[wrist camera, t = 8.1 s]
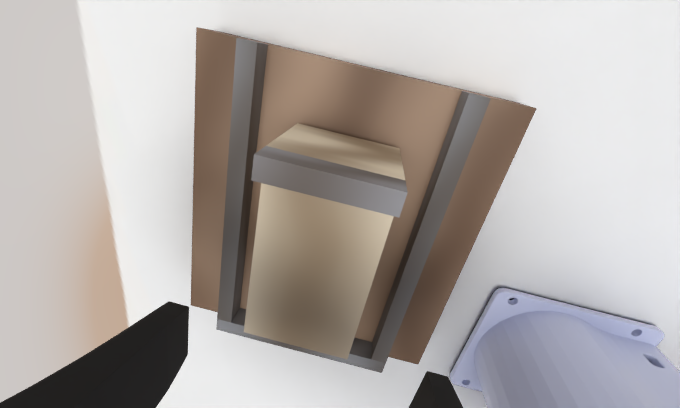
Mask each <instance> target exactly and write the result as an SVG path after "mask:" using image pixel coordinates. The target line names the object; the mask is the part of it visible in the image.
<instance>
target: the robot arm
mask: <svg viewBox="0 0 680 408" xmlns="http://www.w3.org/2000/svg"><path fill="white" fill-rule="evenodd" d="M510 298H514V299H513V300H509V299H510ZM188 319H189V307H188V306H184V305H180V304H177V303H173V302H167V303H166V304H164V305H162V306H161V307H159V308H158V309H156V310H155V311H153V312H152V313H150V314H149V315H147V316H146V317H144V318H143V319H141V320H139V321H138V322H136V323H135V324H133V325H132V326H130V327H129V328H127V329H126V330H124V331H122V332H121V333H120V334H118V335H116V336H115V337H113V338H111V339H110V340H108V341H107V342H105V343H103V344H102V345H100V346H99V347H97V348H95V349H94V350H92V351H91V352H89V353H87V354H86V355H84V356H83V357H81V358H79V359H78V360H76V361H74V362H72V363H71V364H69V365H67V366H65V367H64V368H62V369H60V370H58V371H57V372H55V373H54V374H52V375H50V376H48V377H47V378H45V379H43V380H41V381H39V382H38V383H36V384H34V385H32V386H31V387H29V388H27V389H25V390H23V391H21V392H20V393H18V394H16V395H14V396H12V397H10V398H8V399H6V400H4V401H3V402H1V403H0V408H156V407H157V405H158V404H159V402H160V401H161V399H162V398H163V396H164V395H165V394H166V392H167V391H168V389H169V387H170V385H171V384H172V382H173V380H174V378H175V377H176V375H177V373H178V371H179V370H180V368H181V366H182V364H183V362H184V360H185V358H186V357H187V355H188ZM663 338H664V333H663V332H662V331H661V330H660V329H659V328H658V327H656V326H653V325H649V324H645V323H641V322H637V321H633V320H629V319H625V318H621V317H617V316H613V315H609V314H605V313H602V312H598V311H594V310H590V309H586V308H582V307H578V306H574V305H570V304H566V303H562V302H558V301H554V300H550V299H546V298H542V297H538V296H534V295H530V294H527V293H523V292H519V291H515V290H511V289H507V288H499V289H497V290H495V292H494V293H493V295H492V297H491V298H490V300H489V302H488V304H487V306H486V308H485V310H484V312H483V313H482V315H481V317H480V319H479V321H478V323H477V325H476V326H475V328H474V330H473V332H472V334H471V336H470V338H469V340H468V341H467V343H466V345H465V347H464V349H463V351H462V353H461V355H460V356H459V358H458V360H457V362H456V364H455V366H454V368H453V370H452V371H451V373H450V379H451V382H452V383H453V384H455V385H458V386H462V387H466V388H470V389H474V390H478V391H481V392H483V395H484V398H485V402H486V405H487V408H680V371H679V370H678V369H677V368H676V367H675V366H674V365H673V364H672V363H671V362H670V361H669V360H668V359H667V358H666V357H665V356H664V354H663V353H662V352H661V351H660V350H659V349H658V348H657V347H656V346H657V345H658V344H659V343H660V342H661V341H662V339H663ZM451 382H450V380H449V378H448V377H447V376H443V375H439V374H436V373H432V372H428V371H427V372H426V374H425V376H424V378H423V380H422V382H421V384H420V386H419V388H418V390H417V392H416V394H415V396H414V398H413V400H412V402H411V404H410V406H409V408H463V407H462V405H461V403H460V401H459V398H458V396H457V394H456V392H455V390H454V388H453V386H452V384H451Z"/></svg>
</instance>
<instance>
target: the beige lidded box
mask: <svg viewBox="0 0 680 408" xmlns="http://www.w3.org/2000/svg"><path fill="white" fill-rule="evenodd" d="M251 181H255V182H259V183H261V191H260V199H259V208H258V216H257V224H256V233H255V241H254V249H253V258H252V266H251V275H250V283H249V291H248V300H247V308H246V316H245V325H244V332H245V333H249V334H252V335H256V336H260V337H264V338H268V339H271V340H275V341H279V342H283V343H287V344H290V345H294V346H298V347H302V348H305V349H309V350H313V351H317V352H321V353H324V354H328V355H332V356H336V357H340V358H343V359H348V356H349V353H350V350H351V347H352V344H353V341H354V337H355V334H356V331H357V328H358V325H359V322H360V319H361V316H362V313H363V310H364V307H365V304H366V300H367V297H368V294H369V291H370V288H371V285H372V282H373V279H374V276H375V273H376V270H377V267H378V264H379V260H380V257H381V254H382V251H383V248H384V245H385V242H386V239H387V236H388V233H389V230H390V227H391V223H392V220H393V217H398V218H399V217H400V214H401V211H402V208H403V205H404V202H405V199H406V196H407V193H408V192H407V186H406V181H405V175H404V170H403V164H402V159H401V153H400V148H396V147H392V146H388V145H384V144H380V143H376V142H372V141H368V140H364V139H360V138H356V137H352V136H348V135H343V134H339V133H335V132H331V131H327V130H323V129H319V128H315V127H311V126H307V125H303V124H299V123H297V124H296V125H294V126H293V127H292V128H290V129H289V130H287V131H286V132H285V133H283V134H282V135H280V136H279V137H278V138H276V139H275V140H273V141H272V142H271V143H269V144H268V145H266V146H265V147H264V148H262V149H261V150H259V151H258V152H257V153H255V154H254V159H253V168H252V178H251Z"/></svg>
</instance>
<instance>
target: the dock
mask: <svg viewBox="0 0 680 408" xmlns="http://www.w3.org/2000/svg"><path fill="white" fill-rule="evenodd" d="M535 110H536V108H533V107H530V106H527V105H523V104H520V103H517V102H513V101H508V100H504V99H500V98H496V97H492V96H487V95H483V94H479V93H475V92H471V91H466V90H462V89H458V88H454V87H450V86H446V85H441V84H437V83H433V82H429V81H425V80H420V79H416V78H412V77H408V76H404V75H399V74H395V73H391V72H387V71H383V70H378V69H374V68H370V67H366V66H362V65H357V64H353V63H349V62H345V61H341V60H336V59H332V58H328V57H324V56H320V55H315V54H311V53H307V52H303V51H299V50H294V49H290V48H286V47H282V46H278V45H274V44H269V43H265V42H261V41H257V40H253V39H248V38H244V37H240V36H236V35H232V34H227V33H223V32H219V31H213V30H208V29H202V28H197V32H196V81H195V129H194V178H193V226H192V275H191V305H192V306H196V307H200V308H204V309H208V310H211V311H215V312H218V316H217V330H221V331H225V332H228V333H232V334H236V335H240V336H244V337H247V338H251V339H255V340H259V341H263V342H266V343H270V344H274V345H278V346H282V347H285V348H289V349H293V350H297V351H301V352H304V353H308V354H312V355H316V356H320V357H324V358H327V359H331V360H335V361H339V362H343V363H346V364H350V365H354V366H358V367H362V368H365V369H369V370H373V371H377V372H381V373H382V371H383V368H384V366H385V363H386V361H387V358H388V357H391V358H395V359H399V360H403V361H407V362H411V363H414V364H418V363H419V361H420V359H421V357H422V355H423V353H424V351H425V348H426V346H427V344H428V342H429V340H430V338H431V335H432V333H433V331H434V329H435V327H436V325H437V322H438V320H439V318H440V316H441V314H442V312H443V309H444V307H445V305H446V303H447V301H448V299H449V296H450V294H451V292H452V290H453V288H454V286H455V283H456V281H457V279H458V277H459V275H460V273H461V270H462V268H463V266H464V264H465V262H466V260H467V258H468V255H469V253H470V251H471V249H472V247H473V245H474V242H475V240H476V238H477V236H478V234H479V232H480V229H481V227H482V225H483V223H484V221H485V219H486V216H487V214H488V212H489V210H490V208H491V206H492V203H493V201H494V199H495V197H496V195H497V193H498V190H499V188H500V186H501V184H502V182H503V180H504V178H505V175H506V173H507V171H508V169H509V167H510V165H511V162H512V160H513V158H514V156H515V154H516V152H517V149H518V147H519V145H520V143H521V141H522V139H523V136H524V134H525V132H526V130H527V128H528V126H529V123H530V121H531V119H532V117H533V115H534V113H535ZM297 123H299V124H303V125H307V126H311V127H315V128H319V129H323V130H327V131H331V132H335V133H339V134H343V135H348V136H352V137H356V138H360V139H364V140H368V141H372V142H376V143H380V144H384V145H388V146H392V147H396V148H400V153H401V159H402V164H403V170H404V175H405V181H406V186H407V192H408V193H407V196H406V199H405V202H404V205H403V208H402V211H401V214H400V217H399V218H398V217H393V220H392V223H391V227H390V230H389V233H388V236H387V239H386V242H385V245H384V248H383V251H382V254H381V257H380V260H379V264H378V267H377V270H376V273H375V276H374V279H373V282H372V285H371V288H370V291H369V294H368V297H367V300H366V304H365V307H364V310H363V313H362V316H361V319H360V322H359V325H358V328H357V331H356V334H355V337H354V341H353V344H352V347H351V350H350V353H349V356H348V359H343V358H340V357H336V356H332V355H328V354H324V353H321V352H317V351H313V350H309V349H305V348H302V347H298V346H294V345H290V344H287V343H283V342H279V341H275V340H271V339H268V338H264V337H260V336H256V335H252V334H249V333H245V332H244V325H245V316H246V308H247V300H248V291H249V283H250V275H251V266H252V258H253V249H254V241H255V233H256V224H257V216H258V208H259V199H260V191H261V183H259V182H255V181H251V178H252V168H253V159H254V154H255V153H257V152H258V151H259V150H261V149H262V148H264V147H265V146H266V145H268V144H269V143H271V142H272V141H273V140H275V139H276V138H278V137H279V136H280V135H282V134H283V133H285V132H286V131H287V130H289V129H290V128H292V127H293V126H294V125H296V124H297Z"/></svg>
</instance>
